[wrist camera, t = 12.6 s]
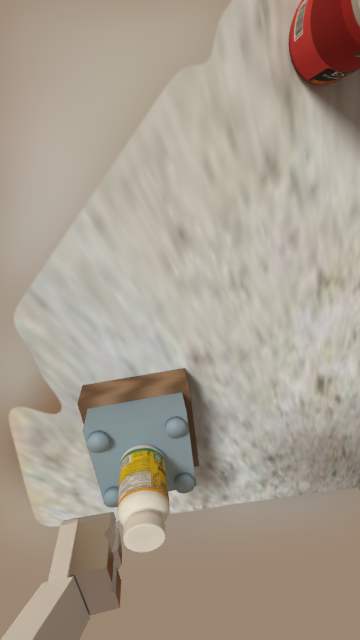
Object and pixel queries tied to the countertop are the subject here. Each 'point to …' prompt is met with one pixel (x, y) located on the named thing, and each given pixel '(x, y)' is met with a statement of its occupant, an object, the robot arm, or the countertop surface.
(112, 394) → the base brick
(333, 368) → the countertop surface
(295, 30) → the canned food
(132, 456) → the supplement bottle
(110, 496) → the top brick
